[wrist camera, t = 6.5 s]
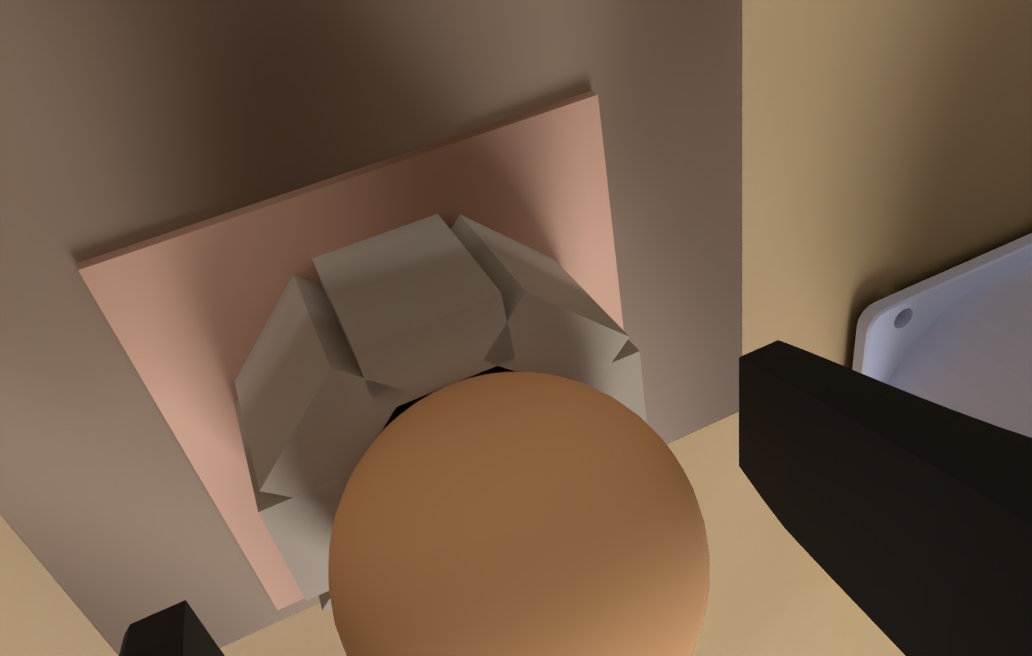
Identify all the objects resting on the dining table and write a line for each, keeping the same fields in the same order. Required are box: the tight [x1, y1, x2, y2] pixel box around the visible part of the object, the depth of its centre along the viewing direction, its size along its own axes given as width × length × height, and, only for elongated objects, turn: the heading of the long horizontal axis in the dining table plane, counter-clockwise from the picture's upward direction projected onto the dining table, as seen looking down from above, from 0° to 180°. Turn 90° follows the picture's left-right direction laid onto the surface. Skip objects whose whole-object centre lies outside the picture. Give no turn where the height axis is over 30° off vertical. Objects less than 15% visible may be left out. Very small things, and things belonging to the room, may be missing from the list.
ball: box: [328, 372, 709, 656], centre depth 10 cm, size 4×4×4 cm
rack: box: [0, 0, 742, 655], centre depth 9 cm, size 12×18×4 cm, turn 10°
